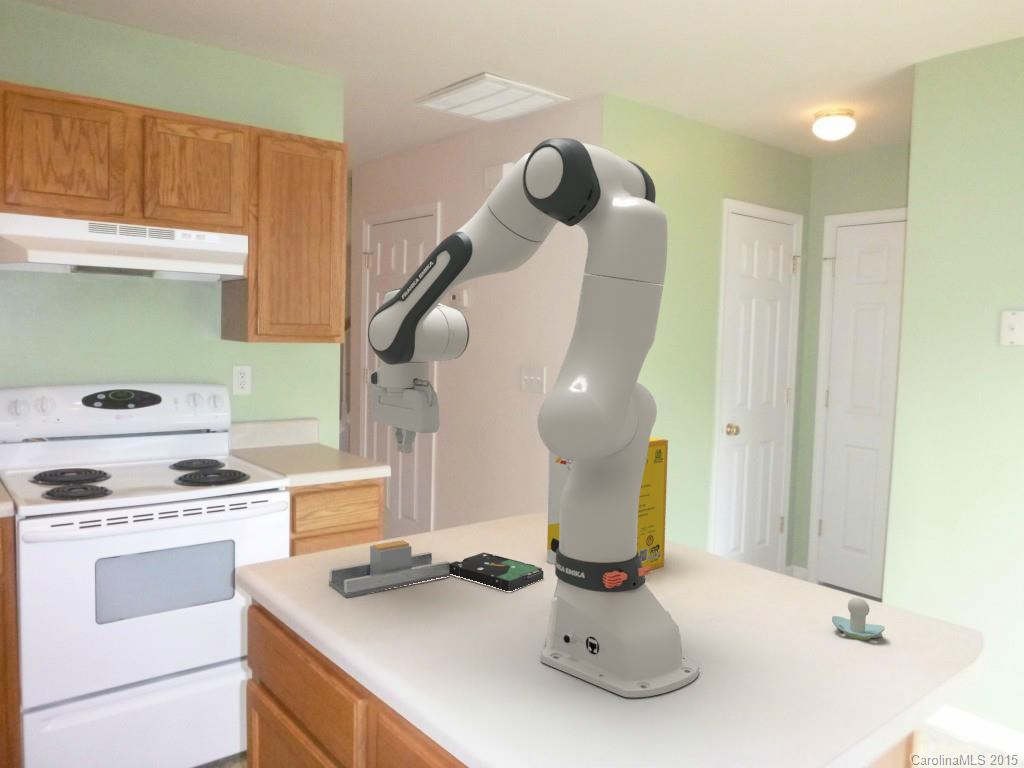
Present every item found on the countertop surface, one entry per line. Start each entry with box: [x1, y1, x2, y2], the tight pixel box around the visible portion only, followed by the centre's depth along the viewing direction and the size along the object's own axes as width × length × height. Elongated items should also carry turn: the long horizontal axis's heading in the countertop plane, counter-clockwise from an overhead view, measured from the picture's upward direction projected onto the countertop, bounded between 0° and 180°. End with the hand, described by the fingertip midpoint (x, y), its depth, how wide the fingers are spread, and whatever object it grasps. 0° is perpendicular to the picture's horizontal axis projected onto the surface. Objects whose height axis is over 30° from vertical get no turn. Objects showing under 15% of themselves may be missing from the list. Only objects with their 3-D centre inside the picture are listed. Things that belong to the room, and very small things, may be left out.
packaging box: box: [546, 436, 669, 573], centre depth 148 cm, size 16×16×25 cm
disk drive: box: [449, 552, 545, 592], centre depth 140 cm, size 10×3×15 cm
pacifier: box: [831, 597, 885, 641], centre depth 116 cm, size 7×6×6 cm
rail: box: [328, 551, 451, 599], centre depth 136 cm, size 8×20×3 cm, turn 125°
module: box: [369, 539, 413, 575], centre depth 136 cm, size 4×6×6 cm
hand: (404, 452), depth 140 cm, fingers closed
